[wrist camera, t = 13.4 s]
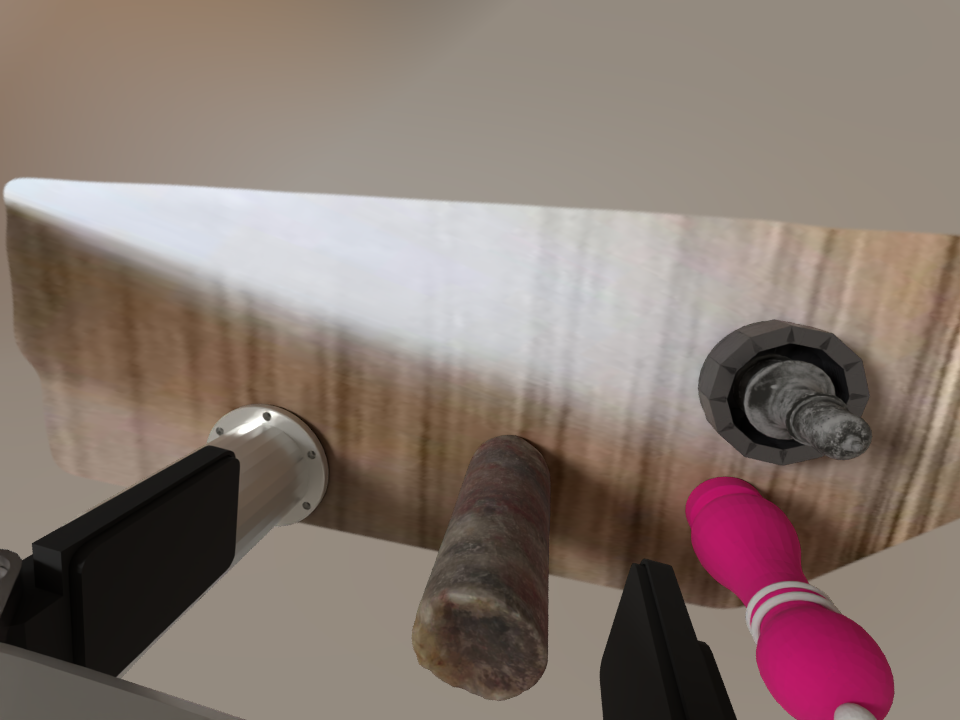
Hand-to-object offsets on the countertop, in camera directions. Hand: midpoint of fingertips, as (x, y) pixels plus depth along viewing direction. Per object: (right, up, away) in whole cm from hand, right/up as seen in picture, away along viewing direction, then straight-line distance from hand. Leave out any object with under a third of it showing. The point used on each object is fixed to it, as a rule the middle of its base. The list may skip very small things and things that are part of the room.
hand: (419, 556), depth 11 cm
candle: (+4, -6, +32) cm, 33 cm away
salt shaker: (+24, +2, +26) cm, 36 cm away
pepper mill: (+22, -8, +30) cm, 38 cm away
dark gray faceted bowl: (+24, +3, +27) cm, 36 cm away
